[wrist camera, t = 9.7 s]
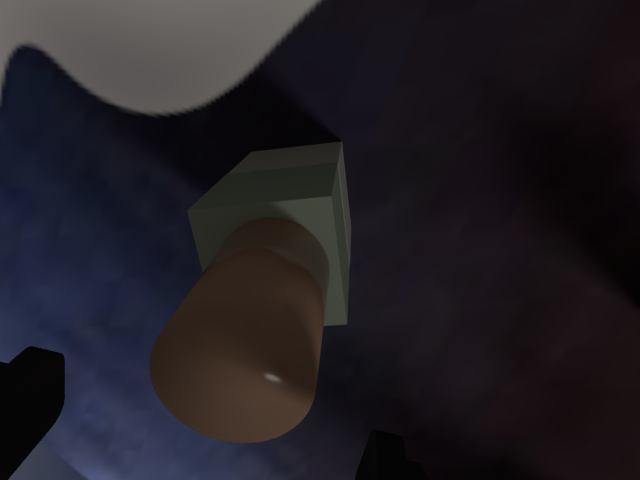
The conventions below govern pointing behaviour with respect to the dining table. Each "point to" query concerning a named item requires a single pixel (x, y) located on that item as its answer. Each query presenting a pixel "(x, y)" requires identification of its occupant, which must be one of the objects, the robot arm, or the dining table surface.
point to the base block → (302, 158)
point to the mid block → (285, 203)
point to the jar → (247, 336)
